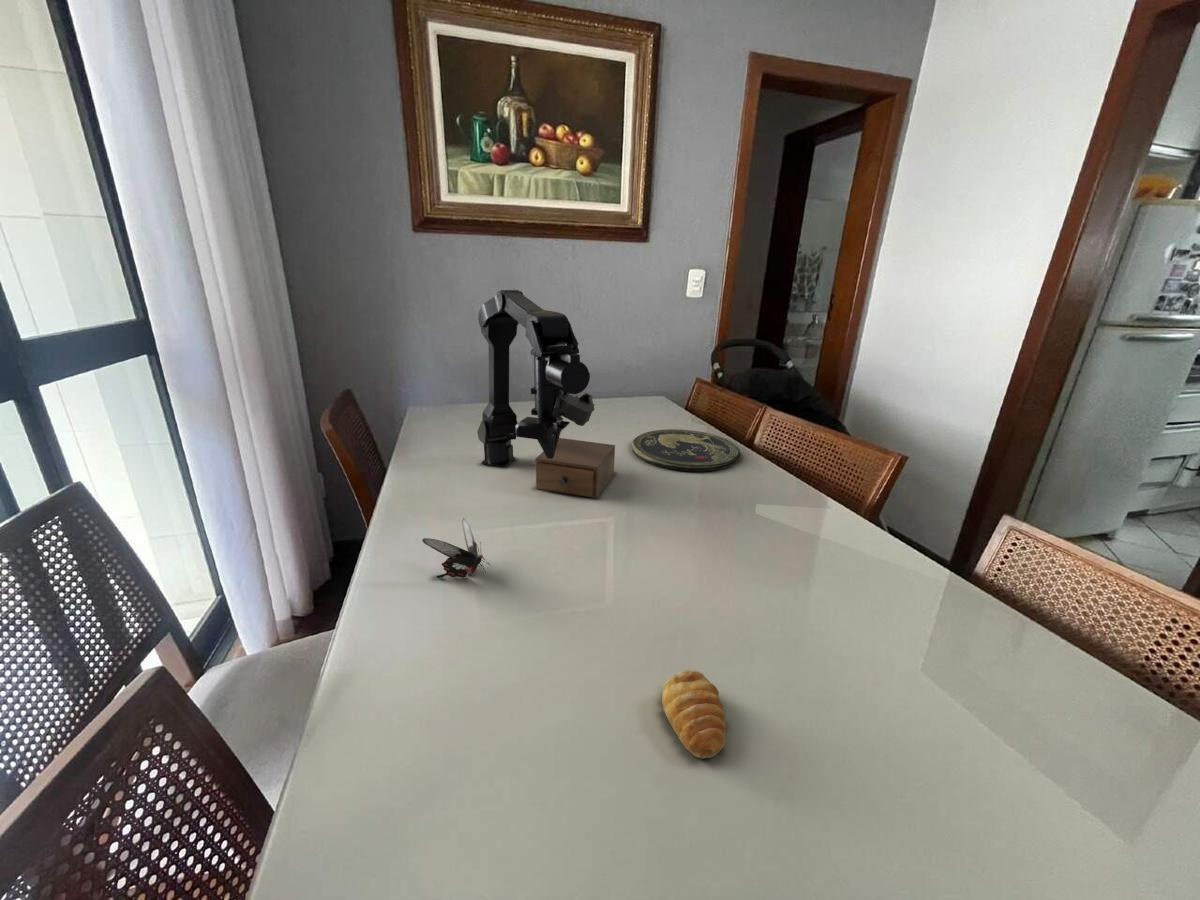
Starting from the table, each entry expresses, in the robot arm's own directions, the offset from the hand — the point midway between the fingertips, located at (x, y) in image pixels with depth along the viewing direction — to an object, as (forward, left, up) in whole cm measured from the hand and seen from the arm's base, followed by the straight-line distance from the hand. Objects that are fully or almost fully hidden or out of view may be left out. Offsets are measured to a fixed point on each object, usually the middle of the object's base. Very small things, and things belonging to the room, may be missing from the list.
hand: (550, 458), depth 98 cm
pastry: (+35, -41, -12) cm, 55 cm away
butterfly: (-5, -27, -12) cm, 30 cm away
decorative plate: (+22, +45, -12) cm, 52 cm away
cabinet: (0, +16, -12) cm, 20 cm away
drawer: (0, +14, -11) cm, 18 cm away
